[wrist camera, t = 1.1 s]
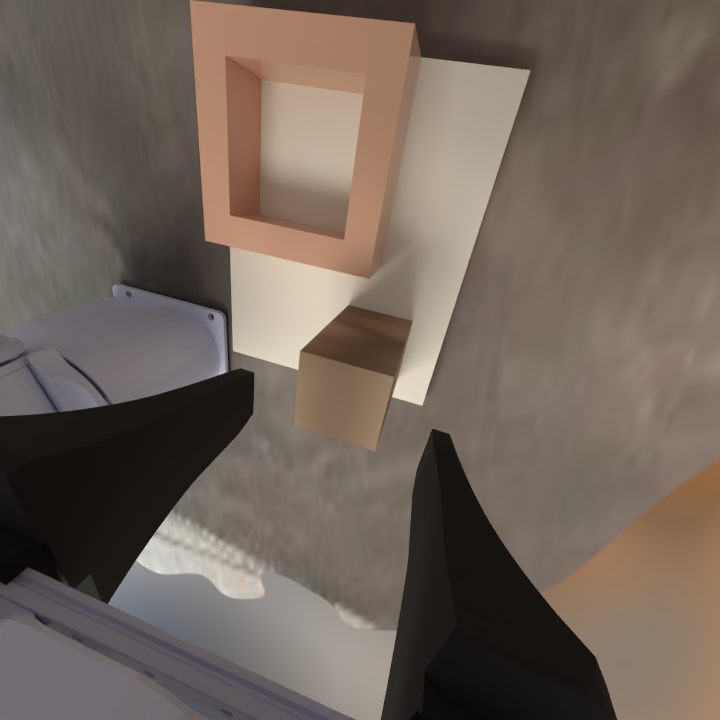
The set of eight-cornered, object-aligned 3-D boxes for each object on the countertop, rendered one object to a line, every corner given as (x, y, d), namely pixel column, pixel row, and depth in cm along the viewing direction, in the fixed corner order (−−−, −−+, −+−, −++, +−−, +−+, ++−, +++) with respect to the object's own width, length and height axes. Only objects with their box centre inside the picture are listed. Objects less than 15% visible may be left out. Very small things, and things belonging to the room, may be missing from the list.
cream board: (241, 345, 24) (233, 350, 23) (236, 43, 16) (223, 33, 15) (423, 397, 21) (422, 405, 21) (525, 79, 14) (530, 70, 13)
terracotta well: (236, 236, 19) (205, 240, 16) (233, 34, 15) (189, 0, 12) (380, 269, 18) (368, 279, 15) (421, 57, 13) (415, 23, 11)
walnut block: (339, 362, 21) (293, 425, 15) (348, 305, 19) (299, 351, 13) (397, 378, 20) (375, 451, 14) (412, 321, 18) (394, 377, 12)
